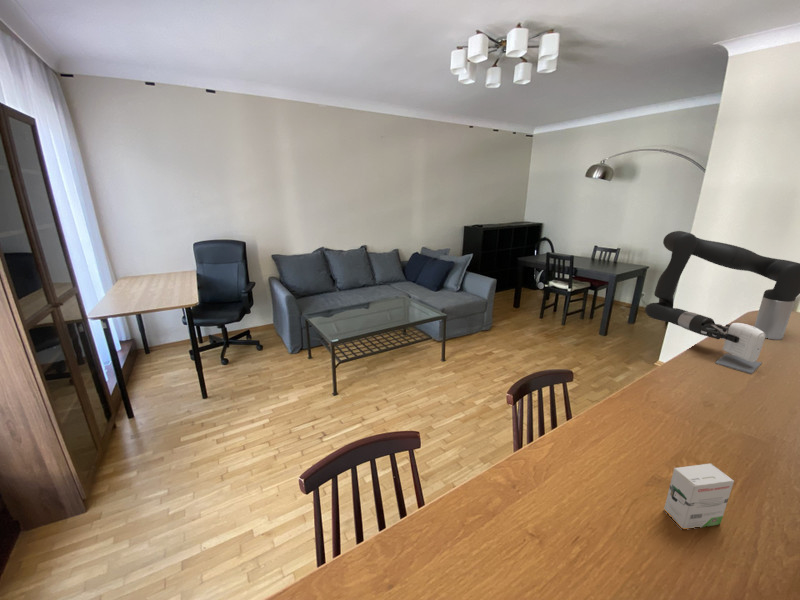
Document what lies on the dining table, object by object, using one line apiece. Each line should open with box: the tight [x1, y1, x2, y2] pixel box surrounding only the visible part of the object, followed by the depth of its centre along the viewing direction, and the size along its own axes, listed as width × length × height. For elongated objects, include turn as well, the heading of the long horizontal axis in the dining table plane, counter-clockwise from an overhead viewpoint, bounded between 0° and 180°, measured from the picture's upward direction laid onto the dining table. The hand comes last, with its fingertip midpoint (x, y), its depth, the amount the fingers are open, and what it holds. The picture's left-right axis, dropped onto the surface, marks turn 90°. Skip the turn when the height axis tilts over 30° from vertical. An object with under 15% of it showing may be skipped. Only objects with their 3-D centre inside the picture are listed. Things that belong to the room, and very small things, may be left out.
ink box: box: [663, 462, 735, 529], centre depth 68 cm, size 9×5×12 cm, turn 96°
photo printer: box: [722, 322, 766, 362], centre depth 123 cm, size 10×4×12 cm, turn 8°
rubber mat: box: [714, 352, 762, 375], centre depth 126 cm, size 12×10×1 cm
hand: (743, 339), depth 123 cm, fingers closed on photo printer, 4 cm apart
